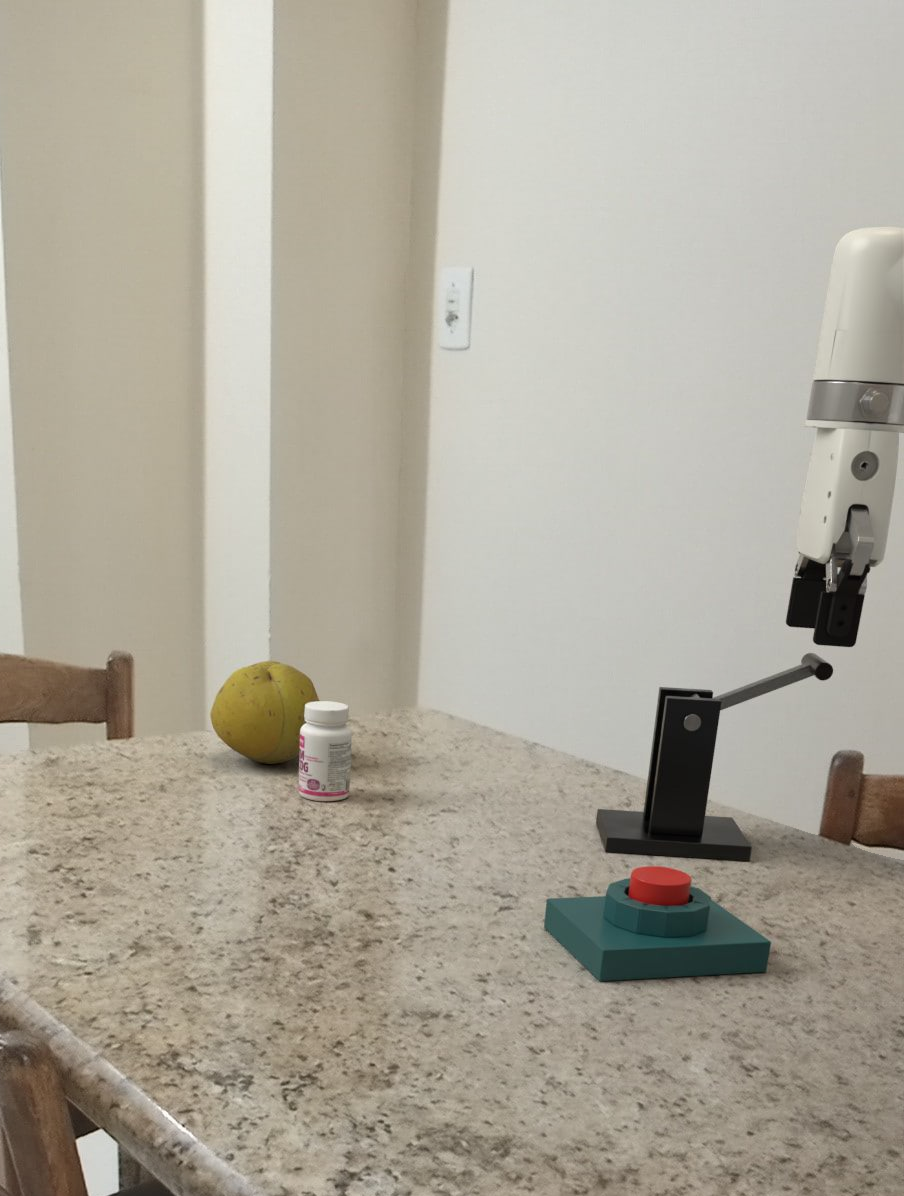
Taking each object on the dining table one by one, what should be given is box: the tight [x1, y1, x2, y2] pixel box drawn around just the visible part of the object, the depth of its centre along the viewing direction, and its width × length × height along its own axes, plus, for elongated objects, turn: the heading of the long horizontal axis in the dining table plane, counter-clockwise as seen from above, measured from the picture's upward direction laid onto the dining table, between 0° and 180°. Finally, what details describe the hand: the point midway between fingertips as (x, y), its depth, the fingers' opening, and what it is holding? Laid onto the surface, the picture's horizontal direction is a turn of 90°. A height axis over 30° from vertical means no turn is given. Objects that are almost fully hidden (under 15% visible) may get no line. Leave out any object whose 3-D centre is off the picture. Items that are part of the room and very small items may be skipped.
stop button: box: [628, 865, 692, 906], centre depth 93 cm, size 4×4×2 cm
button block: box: [543, 877, 772, 982], centre depth 94 cm, size 12×10×4 cm
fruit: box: [210, 660, 320, 765], centre depth 137 cm, size 11×12×10 cm
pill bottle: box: [297, 700, 353, 802], centre depth 126 cm, size 5×5×8 cm
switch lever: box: [689, 652, 834, 711], centre depth 114 cm, size 13×5×2 cm, turn 86°
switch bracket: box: [595, 686, 753, 862], centre depth 117 cm, size 12×9×13 cm
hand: (818, 636), depth 112 cm, fingers open, 9 cm apart
